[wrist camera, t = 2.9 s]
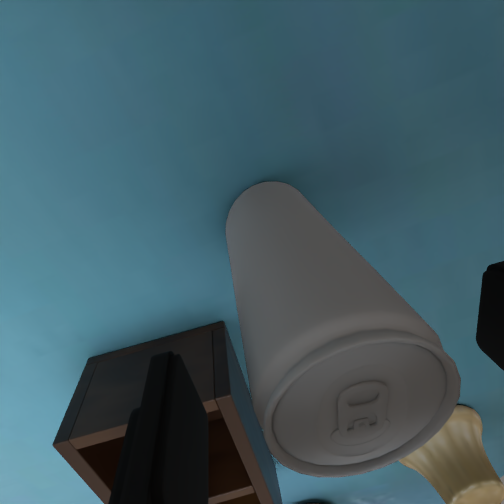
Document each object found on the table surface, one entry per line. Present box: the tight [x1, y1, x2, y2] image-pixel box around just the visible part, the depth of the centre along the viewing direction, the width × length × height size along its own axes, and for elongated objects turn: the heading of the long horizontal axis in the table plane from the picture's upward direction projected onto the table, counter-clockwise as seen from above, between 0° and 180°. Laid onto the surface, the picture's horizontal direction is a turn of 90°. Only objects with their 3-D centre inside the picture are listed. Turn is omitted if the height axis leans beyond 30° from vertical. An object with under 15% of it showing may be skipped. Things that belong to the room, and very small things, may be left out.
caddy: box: [53, 321, 282, 504], centre depth 22 cm, size 9×17×6 cm, turn 14°
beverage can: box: [226, 181, 461, 477], centre depth 13 cm, size 5×5×12 cm
